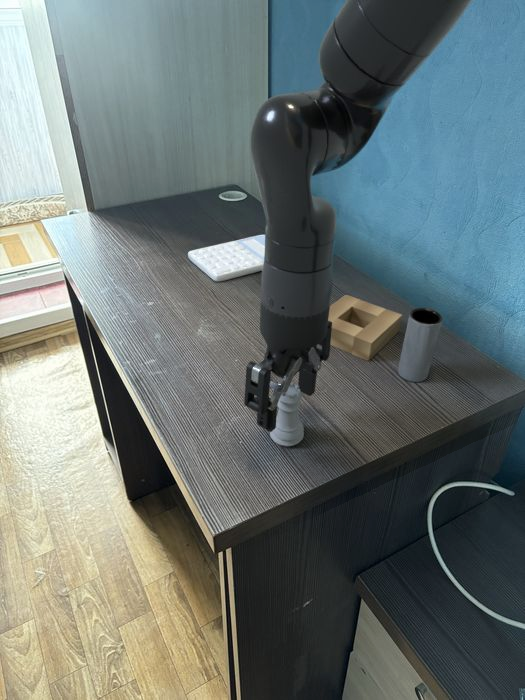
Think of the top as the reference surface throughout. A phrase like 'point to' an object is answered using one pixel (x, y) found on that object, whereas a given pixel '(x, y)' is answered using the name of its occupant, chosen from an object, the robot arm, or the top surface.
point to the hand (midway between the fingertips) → (287, 409)
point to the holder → (361, 326)
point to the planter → (419, 344)
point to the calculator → (231, 258)
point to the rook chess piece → (288, 418)
